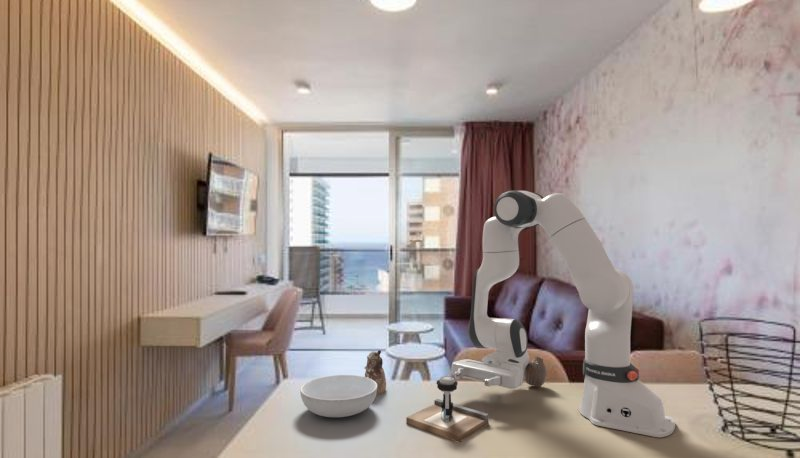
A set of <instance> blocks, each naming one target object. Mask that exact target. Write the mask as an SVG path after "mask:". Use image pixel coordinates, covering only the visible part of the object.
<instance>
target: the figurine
mask: <svg viewBox="0 0 800 458" xmlns="http://www.w3.org/2000/svg"><path fill="white" fill-rule="evenodd" d="M381 353H382V350H380V349H379V350H377V351H371V352H369V354H367V356H366V358H367V359H366V360H367V361H366V366H364V369H365V372H364V377H367V378H369V379H372V380H374V381H375V382H376V383H377V393H376V395H380V394H383V393H385V392H386V390H387V379H386V374H385V370H384V367H383V363H384V362H383V358H382V357H381V356H380V355H381Z"/></svg>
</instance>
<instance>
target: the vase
mask: <svg viewBox="0 0 800 458" xmlns="http://www.w3.org/2000/svg"><path fill="white" fill-rule="evenodd" d="M547 376H548V371H547V367H546V365H545V362H544V359H543V358H542V357H540V356H534V357H533V359H531V360H529V363H528V365H527V367H526V368H525V370H524V371H523V380H524V382H525V383H526V384H528V385H530V386H532V387H537V388H539V387H542V385H544V384H545V382H546V381H547Z"/></svg>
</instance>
